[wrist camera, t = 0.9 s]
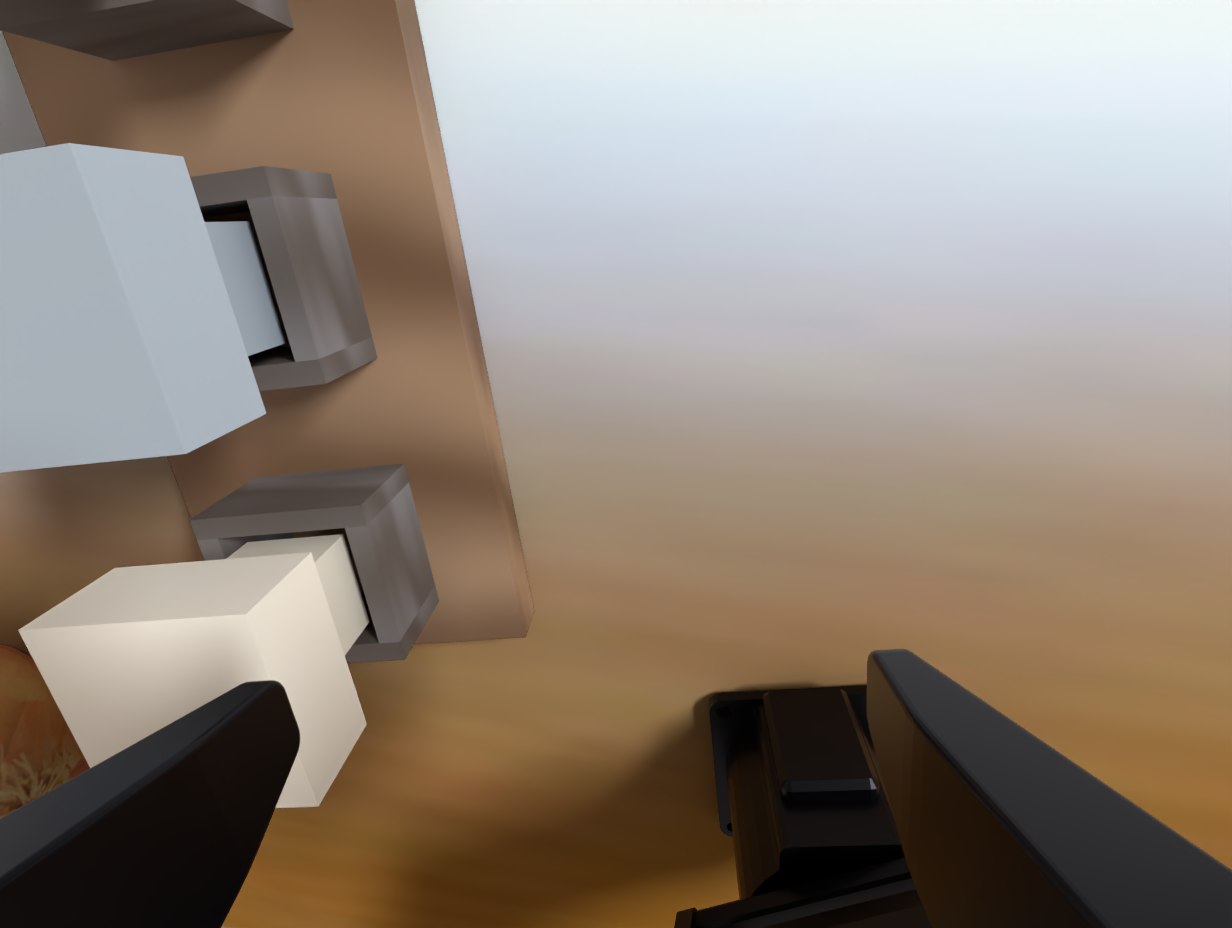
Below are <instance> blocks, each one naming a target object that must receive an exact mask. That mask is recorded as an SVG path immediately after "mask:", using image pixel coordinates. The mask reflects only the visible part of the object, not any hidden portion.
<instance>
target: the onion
mask: <svg viewBox="0 0 1232 928" xmlns="http://www.w3.org/2000/svg"><path fill="white" fill-rule="evenodd" d="M88 769H90V767H89V765H88V763H87V761H86V759H85V757H84V755H83V753H82V751H81V749H80V748H79V746H78V744H77V742H76V740H75V738H74V736H73V734H72V732H71V730H70V728H69V727H68V725H67V723H66V721H65V719H64V717H63V715H62V713H61V711H60V709H59V707H58V706H57V704H56V702H55V700H54V698H53V696H52V694H51V692H50V690H49V688H48V686H47V685H46V683H45V681H44V679H43V677H42V675H41V673H40V671H39V669H38V667H37V665H36V664H35V662H34V660H33V658H32V656H30V655H27V654H25V653H23V652H20V651H19V650H17V649H15V648H13V647H10V646H6V645H1V644H0V819H1V818H3V817H4V816H6V815H8V814H10V813H11V812H13V811H15V810H17V809H19V808H20V807H22V806H24V805H26V804H28V803H29V802H31V801H33V800H35V799H36V798H38V797H40V796H42V795H44V794H45V793H47V792H49V791H51V790H53V789H54V788H56V787H58V786H60V785H61V784H63V783H65V782H67V781H69V780H70V779H72V778H74V777H76V776H78V775H79V774H81V773H83V772H85V771H86V770H88Z"/></svg>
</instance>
